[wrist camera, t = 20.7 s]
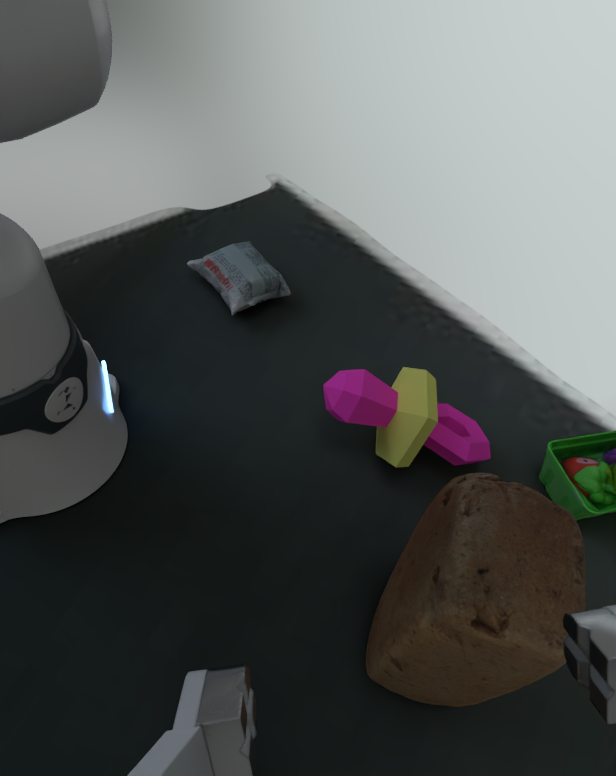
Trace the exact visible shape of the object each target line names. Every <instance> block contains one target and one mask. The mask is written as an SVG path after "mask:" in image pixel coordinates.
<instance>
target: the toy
mask: <svg viewBox="0 0 616 776" xmlns="http://www.w3.org/2000/svg"><path fill="white" fill-rule="evenodd" d="M323 388H324V396H325V404H326V410H327V411H328V412H329V413H330V414H331V415H332V416H333V417H334V418H335V419H336V420H338V421H342V422H347V423H354V424H362V425H370V426H377V434H376V454H377V455H378V456H380V457H381V458H383V459H384V460H386V461H387V462H388V463H390V464H391V465H393V466H394V467H396V468H397V467H409V465H410V464H411V462H412V461H413V459H414V458H415V456H416V455H417V453H418V452H419V450H420V449H421V447H422V446H423V445H425V446H426V447H428V448H429V449H431V450H432V451H434V452H435V453H437V454H438V455H440V456H441V457H443V458H444V459H446V460H447V461H449V462H450V463H452V464H453V465H463V464H471V463H476V462H480V461H484V460H487V459H491V456H490V445H489V441H488V439H487V438H486V436H485V435H484V433H483V432H482V430H481V428H480V427H479V425H478V424H477V422H476V421H474V420H473V419H471V418H469V417H468V416H466V415H464V414H463V413H461V412H460V411H458V410H456V409H455V408H453V407H452V406H450V405H448V404H437V392H436V379H435V378H434V377H433V376H432V375H431V374H430V373H429V372H428V371H427V370H422V369H414V368H407V367H403V368H402V370H401V372H400V373H399V375H398V377H397V378H396V380H395V382H394V384H393V385H392V387H389V386H388V385H387V384H385V383H384V382H382V381H381V380H379V379H378V378H377V377H375V376H374V375H372V374H371V373H369V372H368V371H367V370H365V369H361V370H344V371H339V372H338V373H337V374H335V375H334V376H333V377H332V378H331V379H330V380H329V381H328V382H326V383H325V384H324V385H323Z"/></svg>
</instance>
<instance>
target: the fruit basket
mask: <svg viewBox="0 0 616 776" xmlns="http://www.w3.org/2000/svg"><path fill="white" fill-rule="evenodd" d="M539 479H540V481H541V482H542V483H543V484H544V485H545V488H546V491H547V493H548V494H549V496H550V498H551V500H552V501H553V502H554V503H556V504H559V505H561V506H562V507H564V508H565V509H567V510H568V511H570V512H571V513H572V514H573V516H574V518H575V520H580V519H583V518H590V517H595V516H599V515H603V514H606V513H607V514H609V513H613V512H616V431H611V432H605V433H598V434H592V435H586V436H580V437H574V438H568V439H561V440H554V441H551V442H549V443H548V446H547V450H546V457H545V460H544V463H543V466H542V469H541V472H540V475H539Z"/></svg>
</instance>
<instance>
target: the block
mask: <svg viewBox="0 0 616 776" xmlns="http://www.w3.org/2000/svg"><path fill="white" fill-rule="evenodd" d="M585 575H586V573H585V554H584V544H583V538H582V534H581V531H580V528H579V526H578V524H577V522H576V520H575V518H574V516H573V514H572V513H571V512H570V511H568V510H567V509H565V508H564V507H562V506H561V505H559V504H556V503H554V502H552V501H550V500H549V499H548V498H546V497H545V496H543V495H542V494H541V493H539V492H538V491H536V490H533V489H531V488H529V487H526V486H524V485H522V484H520V483H516V482H510V483H506V482H502V481H501V480H500V478H499V477H498V476H497V475H493V474H490V473H469V474H465V475H463V476H458V477H456V478H453V479H452V480H451V481H450V482H449V483H448V484H447V485H446V486H445V487H443V488H442V489H441V491H440V492H439V493H438V494H437V496H436V497H435V499H434V500H433V501H432V502H431V504H430V505H429V506H428V508H427V509H426V511H425V512H424V514H423V515H422V517H421V519H420V521H419V523H418V524H417V526H416V527H415V529H414V531H413V533H412V535H411V537H410V539H409V541H408V543H407V545H406V547H405V549H404V551H403V553H402V555H401V557H400V559H399V560H398V562H397V564H396V566H395V568H394V570H393V572H392V574H391V576H390V578H389V580H388V583H387V585H386V587H385V589H384V592H383V594H382V596H381V599H380V601H379V603H378V606H377V609H376V612H375V615H374V618H373V622H372V626H371V630H370V634H369V638H368V643H367V650H366V669H367V673H368V675H369V677H370V678H371V679H372V680H373V681H375V682H376V683H378V684H380V685H382V686H383V687H385V688H387V689H388V690H390V691H392V692H395V693H398V694H400V695H402V696H404V697H407V698H409V699H412V700H414V701H418V702H422V703H427V704H434V705H446V706H454V707H462V706H466V705H475V704H478V703H481V702H484V701H486V700H489V699H491V698H495V697H498V696H501V695H504V694H507V693H509V692H512V691H515V690H517V689H519V688H521V687H524V686H526V685H529V684H531V683H533V682H535V681H537V680H539V679H541V678H543V677H544V676H546V675H548V674H551V673H553V672H554V671H556V670H557V669H559V668H560V667H561V666H563V665H564V664H565V663H566V659H565V656H564V647H563V642H564V640H565V639H566V637H567V636H568V633H567V632H566V630H565V629H564V628H563V617H564V615H565V613H571V612H577V611H583V610H586V600H585Z"/></svg>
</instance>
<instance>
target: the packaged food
mask: <svg viewBox="0 0 616 776" xmlns="http://www.w3.org/2000/svg"><path fill="white" fill-rule="evenodd" d="M187 264H188V266H189V267H191V268H192V269H194V270H196V271H198V272H199V273H200V275H201V276H203V277H204V278H205V279H206V280H207V281H208V282H209V283H210V284H212V285H213V287H214V288H215V289H216V290H217V292H219V293H220V294H221V296H222V298H223V299H224V301H225V302H226V304H227V305H228V307H229V308H230V310H231V314H232V316H233V315H235V313H236V312H237V311H242V310H244V309H246V308H248V307H251V306H253V305H255V304H257V303H260V302H263V301H265V300H268V299H274V298H277V297H279V298H280V297H281V296H284V295H285V296H286V295H288V296H289V295H290V294H291V291H290V290H289V288H288V286H287V284H286V282H285V280H284V278H283V277H282V275H281V274H280V273H279V272H278V271H277V270H276V269H274V268H273V267H272V266H271V265H270V264H269V263H268V262H267V261H266V260H265V259H264V258H263V256H262V255H261V254H260V253H259V252H258V251H257V250H256V249H255V248H254V246H253V244H252V243H251V242H250V241H248V242H242V243H237V244H231V245H229V246H227V247H224V248H221V249H219V250H217V251H215V252H213V253H211V254H208V255H206V256H205V257H204V258H203V259H198V260H193V261H189V262H188V263H187Z"/></svg>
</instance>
